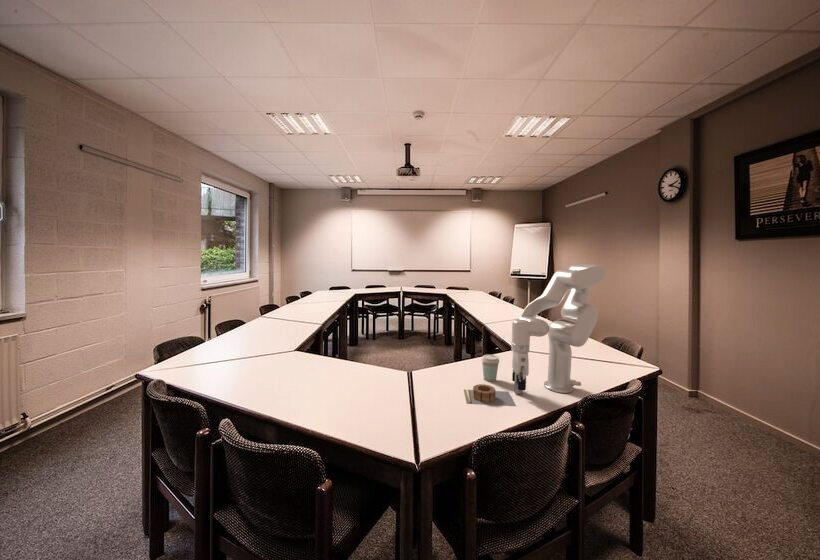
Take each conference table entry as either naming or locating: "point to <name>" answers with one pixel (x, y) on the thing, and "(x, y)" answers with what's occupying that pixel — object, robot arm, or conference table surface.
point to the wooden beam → (516, 391)
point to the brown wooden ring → (484, 393)
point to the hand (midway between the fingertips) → (518, 385)
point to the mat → (500, 399)
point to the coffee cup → (490, 367)
